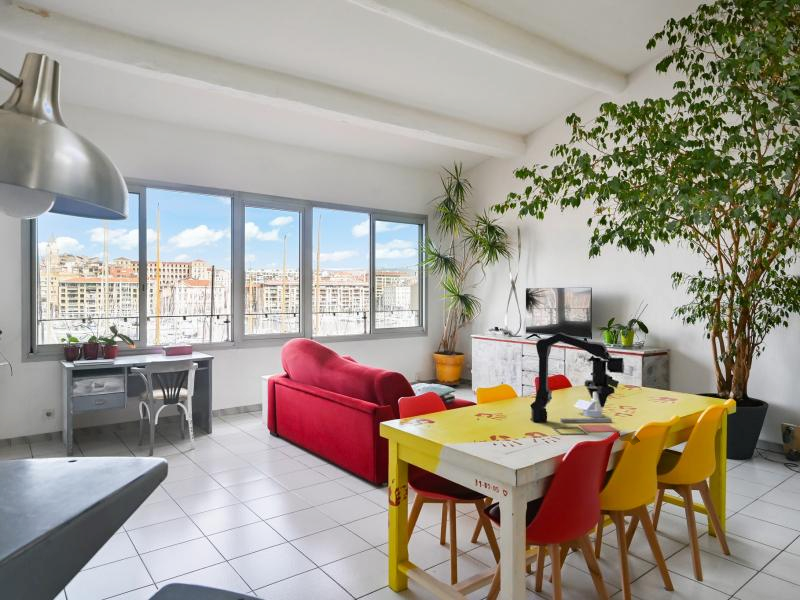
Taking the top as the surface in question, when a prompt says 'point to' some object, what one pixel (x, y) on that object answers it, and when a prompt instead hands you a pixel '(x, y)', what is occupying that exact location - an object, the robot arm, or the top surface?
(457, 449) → the top surface
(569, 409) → the top surface
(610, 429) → the pad
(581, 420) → the rail
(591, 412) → the wedge on round base
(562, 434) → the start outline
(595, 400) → the pipe fitting
